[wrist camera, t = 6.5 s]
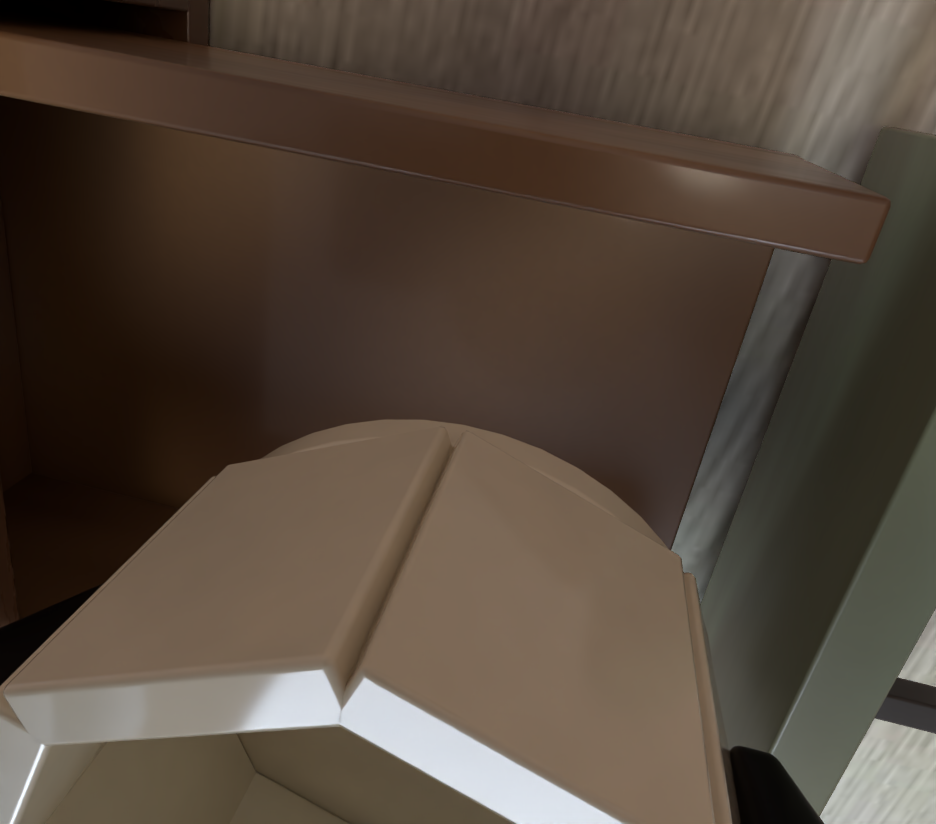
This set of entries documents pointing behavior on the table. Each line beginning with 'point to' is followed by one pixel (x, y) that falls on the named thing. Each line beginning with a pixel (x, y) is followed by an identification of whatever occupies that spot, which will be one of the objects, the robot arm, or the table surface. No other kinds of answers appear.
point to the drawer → (468, 333)
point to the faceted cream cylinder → (379, 653)
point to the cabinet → (124, 8)
